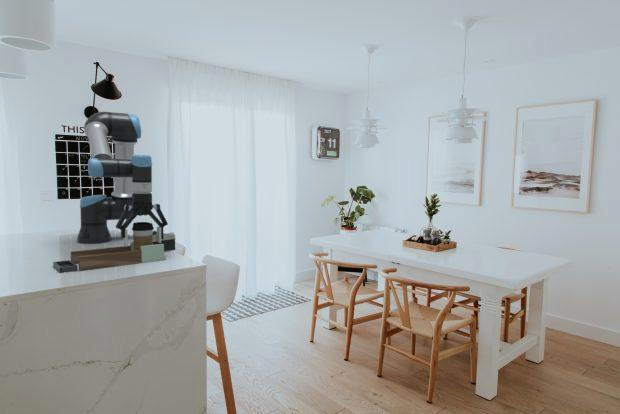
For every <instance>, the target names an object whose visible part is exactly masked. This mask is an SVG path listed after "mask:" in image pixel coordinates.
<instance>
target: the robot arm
mask: <svg viewBox="0 0 620 414" xmlns="http://www.w3.org/2000/svg"><path fill="white" fill-rule="evenodd" d="M141 126H142V125H141V122H140V119H139V117H138V116H137V114H132V113H127V112H126V113H125V112H114V111H113V112H112V111H111V112H109V111H99V112H95V113H94V114H92V115H90V116H89V117H88V118H87V120H86V121H85V123H84V127H83V129H84V134H85V136H86V137H87V138H88V144H89V148H90V154H91V158H89V159H88V160H87V172H88V175H89V177H91V178H92V177H93V178H114V190H113V191H112V192H111V196H110V197H109V196H107V195H106V194H95V195H88V196H83V197H81V199H80V202H79V203H80V204H79V209H80V228H79V232H78V234H77V236H76V237H77V238H76V243H78V244H82V245H83V244H85V245H86V244H87V245H88V244H89V245H90V244H91V245H93V244H104V243H109V242H111V241H112V235H111V233H110V229H109V227H108V221H115V220H116V221H117V220H118V221H117V222H116V225H115V228H116V229H117V230H120V237H121V239H122V240H123V246H129V240H128V239H129V238H128V237H129V235H128V229H127V228H128V226H130V225H131V223H132V222H133V221H134V220H135V219H136V218H137V216H138V217H142V216H149V217H150V218H151V219H152V220H153V221H154V223H156V225H158V226H157V227H156V231H157V242H159V243H161V235H162V234H164V228H165V227H166V226H168V223H169V222H168V220H167V219H166V218H165V215H164V214H163V212H162V210H161V204H159V203H154V204H153V194H152V193H151V192H153V182H152V181H153V179H152V178H153V175H152V174H153V173H152V172H153V171H152V169H153V162H152V156H151V155H149V154H134V151H135V150H134V148H135V144H137V143H138V139H141V138H142V128H141ZM108 137H109V138H110V137H111V141H112V143H114V158H113V156H112V152H111V148H110V144H109V139H108ZM153 209H154V210H155V211H156V213H157V215H158V217H159V218H158V217H157V216H156V215H155V214H154V212H152V210H153Z"/></svg>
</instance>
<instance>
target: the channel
mask: <svg viewBox="0 0 620 414" xmlns="http://www.w3.org/2000/svg"><path fill="white" fill-rule="evenodd" d="M70 261H72V262H73V263H74V264H76V265H78V271H79V272H82V271H90V270H91V271H92V270H98V269H105V268H113V267H120V266H128V265H129V266H130V265H136V264H142V250H135V251H131V246H130V245H128V246H124V245H123V246H121V245H120V246H113V247H112V246H111V247H104V248H103V247H102V248H101V247H100V248H93V249H84V250H83V249H82V250H73V251H70Z"/></svg>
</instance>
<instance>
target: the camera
mask: <svg viewBox="0 0 620 414" xmlns="http://www.w3.org/2000/svg"><path fill="white" fill-rule="evenodd" d="M157 244H164V253H169V252H174V251H176V234H175V232H168V233H163V234H162V235H161V243H159V242H157V230H154V229H153V245H157Z"/></svg>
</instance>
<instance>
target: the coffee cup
mask: <svg viewBox="0 0 620 414" xmlns="http://www.w3.org/2000/svg"><path fill="white" fill-rule="evenodd" d="M131 231H132V238H133V239H132V240H133V241H132V242H134V249H135V250H140V246H147V245H152V241H153V231H154V225H153V223H152V222H148V221H147V222H146V221H138V222H133V224H132V228H131Z"/></svg>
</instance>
